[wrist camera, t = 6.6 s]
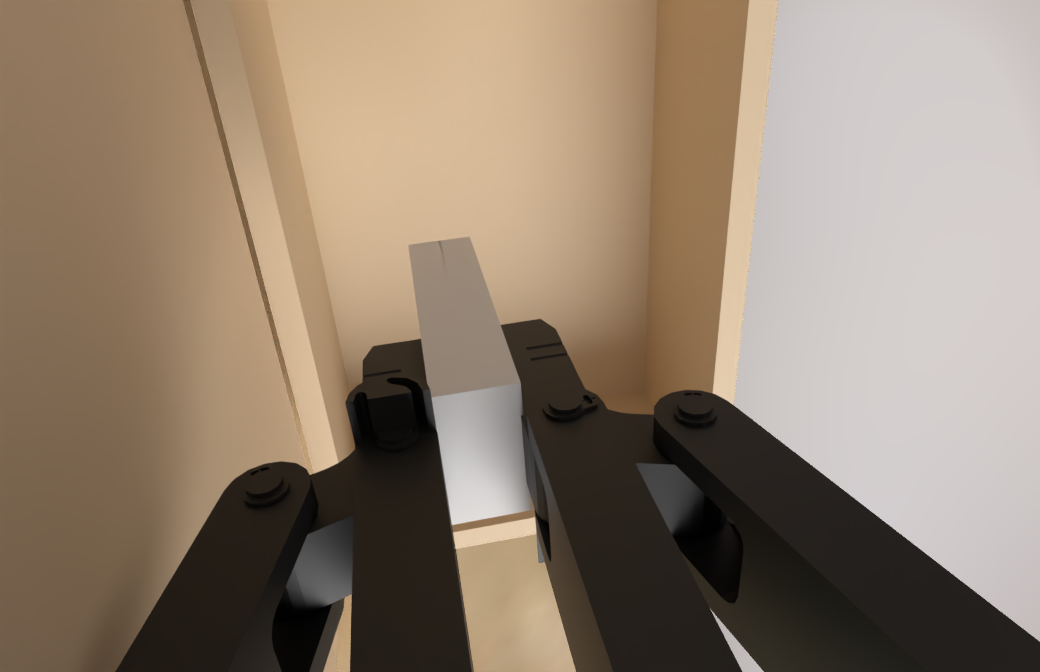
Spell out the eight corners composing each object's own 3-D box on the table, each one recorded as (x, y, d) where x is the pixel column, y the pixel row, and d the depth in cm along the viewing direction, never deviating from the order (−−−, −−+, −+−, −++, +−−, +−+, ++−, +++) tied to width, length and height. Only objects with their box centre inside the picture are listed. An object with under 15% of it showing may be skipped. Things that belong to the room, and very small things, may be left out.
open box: (198, -188, 19) (125, -246, 13) (685, -207, 21) (812, -266, 15) (343, 446, 30) (339, 570, 24) (657, 395, 32) (725, 498, 26)
